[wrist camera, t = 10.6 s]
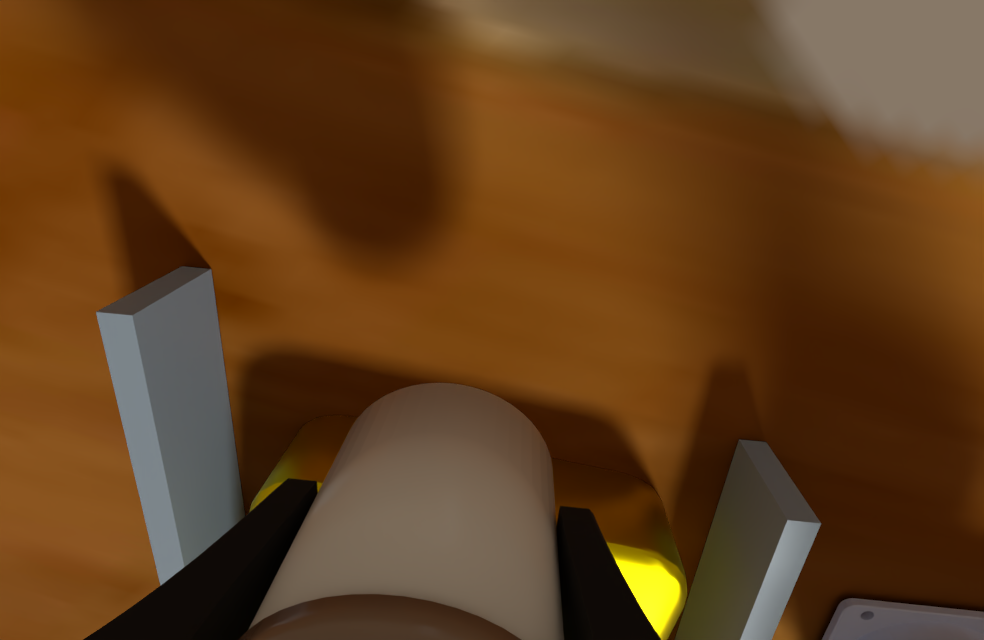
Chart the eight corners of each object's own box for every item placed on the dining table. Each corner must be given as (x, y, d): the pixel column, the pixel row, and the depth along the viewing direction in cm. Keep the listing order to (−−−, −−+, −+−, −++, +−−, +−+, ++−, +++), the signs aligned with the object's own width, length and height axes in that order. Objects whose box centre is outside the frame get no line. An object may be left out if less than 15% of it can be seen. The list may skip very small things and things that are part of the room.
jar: (575, 394, 12) (617, 670, 6) (540, 567, 14) (548, 887, 8) (337, 365, 12) (171, 612, 6) (339, 541, 14) (216, 841, 8)
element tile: (676, 477, 21) (715, 580, 17) (573, 708, 27) (582, 828, 23) (298, 397, 21) (237, 481, 16) (279, 650, 27) (231, 760, 22)
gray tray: (806, 325, 18) (879, 387, 14) (660, 747, 27) (681, 850, 24) (181, 266, 18) (95, 311, 15) (252, 702, 28) (210, 796, 24)
